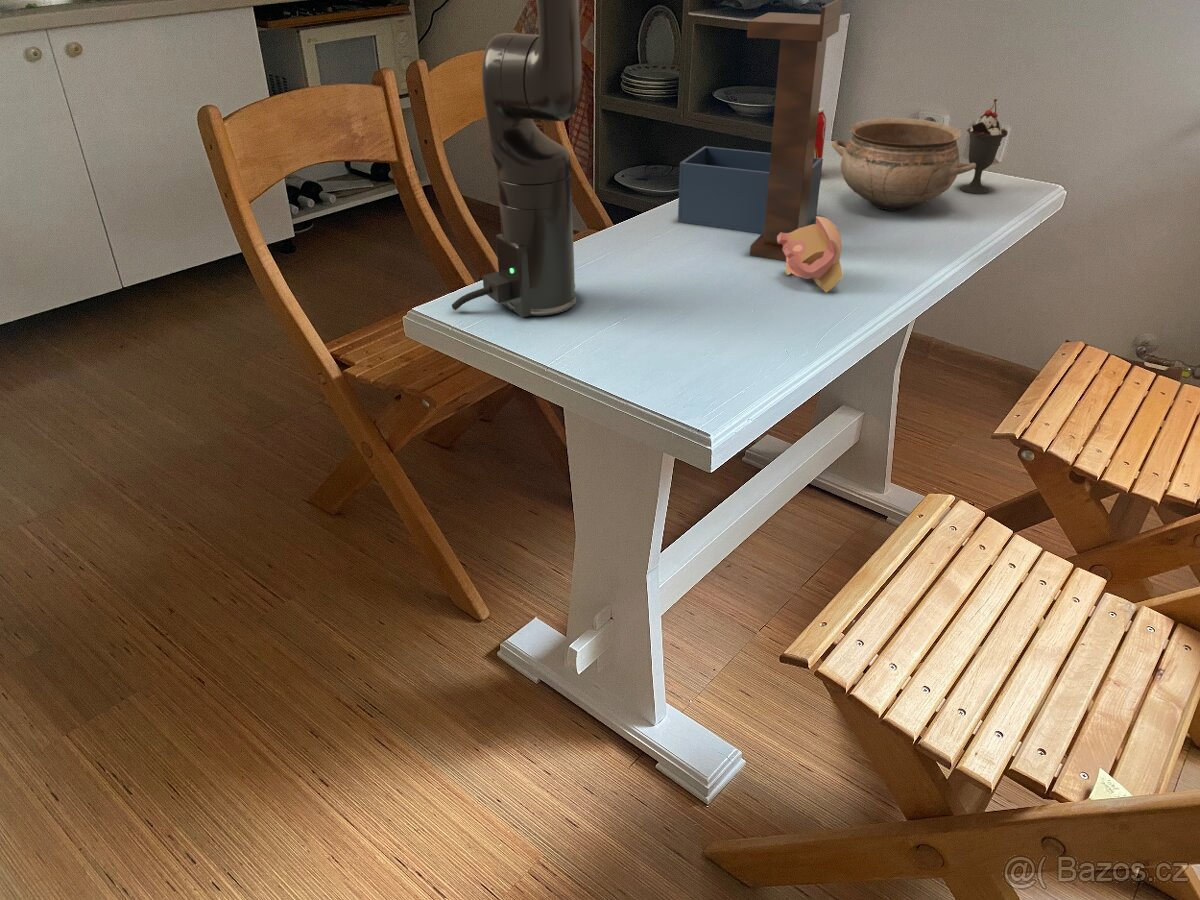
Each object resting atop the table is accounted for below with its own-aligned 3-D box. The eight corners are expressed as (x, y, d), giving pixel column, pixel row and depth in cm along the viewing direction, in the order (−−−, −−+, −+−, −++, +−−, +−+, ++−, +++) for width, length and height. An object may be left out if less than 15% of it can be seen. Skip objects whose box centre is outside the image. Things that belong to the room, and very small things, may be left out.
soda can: (820, 181, 165) (828, 113, 158) (781, 179, 166) (787, 112, 159) (820, 170, 171) (827, 104, 164) (782, 169, 172) (788, 103, 165)
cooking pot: (800, 204, 154) (808, 131, 147) (852, 178, 166) (861, 109, 159) (940, 234, 140) (956, 155, 133) (986, 204, 152) (1002, 130, 145)
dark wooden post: (732, 254, 135) (749, 4, 116) (751, 235, 141) (769, -4, 123) (800, 264, 131) (829, 7, 112) (816, 244, 137) (846, -2, 119)
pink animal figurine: (791, 265, 132) (844, 223, 127) (820, 318, 127) (876, 276, 123) (759, 246, 125) (813, 201, 120) (788, 301, 121) (846, 256, 116)
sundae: (985, 183, 162) (1004, 96, 154) (1000, 194, 156) (1021, 104, 148) (949, 184, 162) (966, 97, 154) (963, 195, 156) (981, 105, 148)
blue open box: (677, 221, 147) (679, 163, 142) (701, 202, 156) (704, 146, 150) (797, 238, 140) (804, 177, 134) (816, 217, 148) (823, 158, 143)
